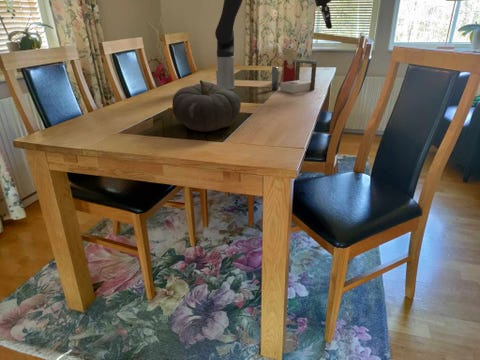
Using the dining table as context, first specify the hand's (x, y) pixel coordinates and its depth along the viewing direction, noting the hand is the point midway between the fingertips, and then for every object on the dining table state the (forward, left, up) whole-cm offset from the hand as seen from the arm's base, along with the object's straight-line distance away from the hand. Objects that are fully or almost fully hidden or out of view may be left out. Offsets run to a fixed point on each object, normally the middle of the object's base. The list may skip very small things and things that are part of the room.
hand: (329, 27), depth 173 cm
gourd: (-86, -20, -31) cm, 94 cm away
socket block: (-15, +7, -31) cm, 35 cm away
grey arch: (-10, +7, -31) cm, 33 cm away
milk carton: (-3, +26, -31) cm, 40 cm away
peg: (-23, +15, -31) cm, 41 cm away
